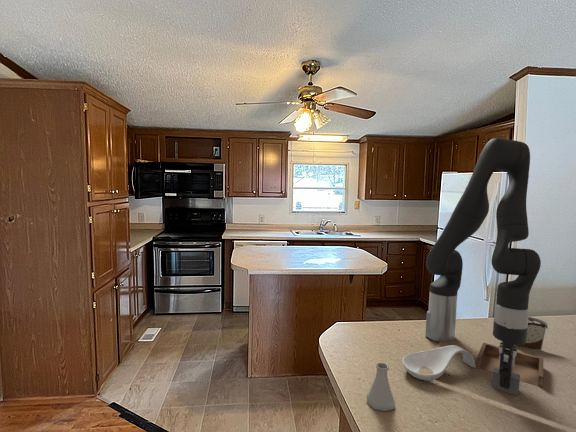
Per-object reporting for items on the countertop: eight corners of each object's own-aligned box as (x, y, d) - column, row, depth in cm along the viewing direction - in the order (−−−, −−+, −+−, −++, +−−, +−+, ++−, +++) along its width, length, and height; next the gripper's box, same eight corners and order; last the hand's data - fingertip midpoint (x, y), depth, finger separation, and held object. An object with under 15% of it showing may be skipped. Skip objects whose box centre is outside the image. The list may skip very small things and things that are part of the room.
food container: (534, 342, 119) (536, 315, 119) (545, 350, 113) (548, 322, 112) (498, 340, 121) (500, 313, 120) (508, 348, 115) (510, 320, 114)
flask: (362, 394, 87) (363, 358, 86) (388, 393, 88) (390, 357, 87) (371, 412, 80) (373, 373, 79) (400, 411, 81) (402, 373, 80)
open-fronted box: (475, 370, 100) (476, 357, 100) (482, 353, 110) (483, 342, 110) (542, 390, 90) (543, 377, 90) (542, 370, 100) (543, 358, 100)
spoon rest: (419, 390, 90) (421, 365, 89) (393, 367, 101) (394, 345, 100) (485, 376, 97) (487, 353, 96) (454, 357, 108) (455, 336, 107)
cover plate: (476, 394, 89) (477, 373, 88) (482, 377, 97) (483, 357, 97) (531, 414, 81) (533, 391, 81) (532, 393, 90) (534, 372, 89)
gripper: (497, 310, 95) (492, 366, 97) (490, 326, 84) (485, 388, 86) (528, 317, 91) (523, 375, 92) (526, 335, 80) (520, 400, 81)
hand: (505, 381), depth 89 cm, fingers open, 6 cm apart
